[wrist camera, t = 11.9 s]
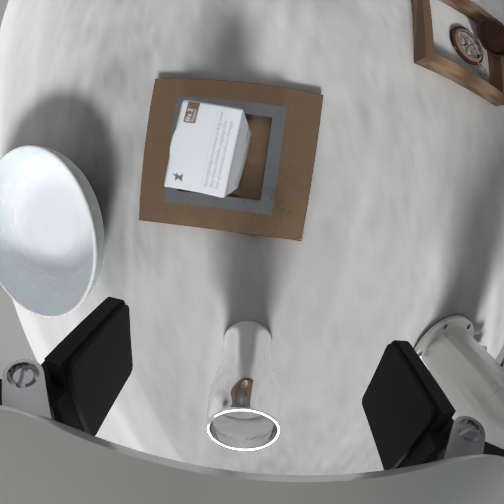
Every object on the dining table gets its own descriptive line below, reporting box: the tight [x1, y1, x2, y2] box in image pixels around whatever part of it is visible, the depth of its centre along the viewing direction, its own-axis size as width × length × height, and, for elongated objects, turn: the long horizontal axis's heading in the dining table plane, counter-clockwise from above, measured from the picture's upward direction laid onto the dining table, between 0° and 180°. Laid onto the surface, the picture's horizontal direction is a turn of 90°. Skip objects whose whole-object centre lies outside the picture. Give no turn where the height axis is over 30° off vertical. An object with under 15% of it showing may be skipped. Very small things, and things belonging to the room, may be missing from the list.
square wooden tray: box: [411, 0, 504, 106], centre depth 22 cm, size 15×15×3 cm
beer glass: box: [206, 321, 281, 450], centre depth 29 cm, size 7×7×15 cm
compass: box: [450, 18, 504, 76], centre depth 20 cm, size 8×8×7 cm
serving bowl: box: [0, 145, 104, 318], centre depth 29 cm, size 21×21×7 cm
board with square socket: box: [139, 79, 323, 241], centre depth 28 cm, size 18×16×4 cm
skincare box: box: [164, 100, 251, 198], centre depth 23 cm, size 6×4×12 cm
